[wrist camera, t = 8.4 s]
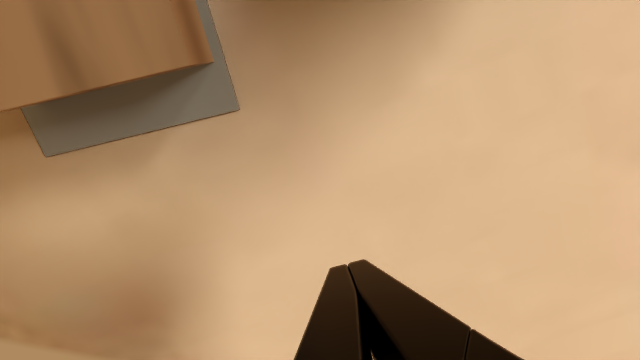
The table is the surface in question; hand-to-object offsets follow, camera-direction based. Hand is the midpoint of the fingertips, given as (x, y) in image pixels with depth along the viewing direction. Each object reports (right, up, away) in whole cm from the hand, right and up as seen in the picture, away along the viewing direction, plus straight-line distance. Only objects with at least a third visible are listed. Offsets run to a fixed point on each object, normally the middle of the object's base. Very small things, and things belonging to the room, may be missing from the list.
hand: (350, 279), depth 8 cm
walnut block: (-15, +7, +6) cm, 18 cm away
